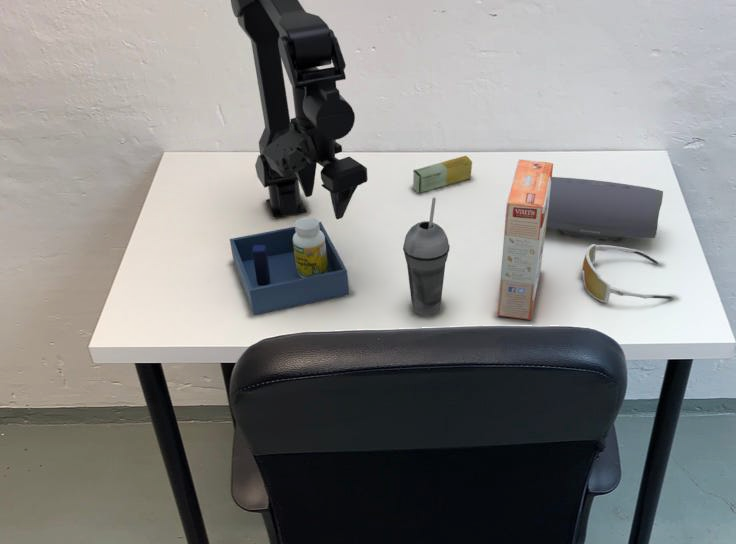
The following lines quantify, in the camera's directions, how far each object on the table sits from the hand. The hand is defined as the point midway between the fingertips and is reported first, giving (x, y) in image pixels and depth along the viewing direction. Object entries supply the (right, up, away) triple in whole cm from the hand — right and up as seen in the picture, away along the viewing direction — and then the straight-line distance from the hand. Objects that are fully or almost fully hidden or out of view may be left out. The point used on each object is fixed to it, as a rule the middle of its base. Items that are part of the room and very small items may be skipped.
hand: (323, 207), depth 144 cm
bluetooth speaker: (+47, 0, +19) cm, 50 cm away
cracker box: (+32, -14, +5) cm, 35 cm away
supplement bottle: (-3, -9, +9) cm, 13 cm away
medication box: (+20, +12, +32) cm, 39 cm away
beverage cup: (+17, -16, +3) cm, 23 cm away
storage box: (-7, -10, +9) cm, 15 cm away
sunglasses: (+50, -11, +8) cm, 52 cm away
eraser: (-11, -11, +7) cm, 17 cm away
